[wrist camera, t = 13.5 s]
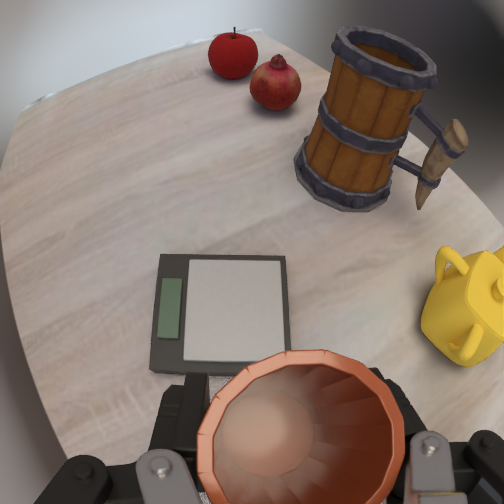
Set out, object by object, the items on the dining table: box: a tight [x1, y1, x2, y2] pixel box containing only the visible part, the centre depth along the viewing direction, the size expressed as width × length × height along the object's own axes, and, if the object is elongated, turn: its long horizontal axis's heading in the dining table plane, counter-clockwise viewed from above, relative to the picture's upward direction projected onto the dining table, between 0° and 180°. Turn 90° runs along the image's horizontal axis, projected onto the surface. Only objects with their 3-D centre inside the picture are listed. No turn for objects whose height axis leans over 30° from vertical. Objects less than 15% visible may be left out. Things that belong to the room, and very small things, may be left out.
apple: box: [208, 27, 258, 79], centre depth 50 cm, size 9×9×10 cm
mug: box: [294, 26, 468, 212], centre depth 34 cm, size 19×14×20 cm
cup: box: [196, 349, 405, 504], centre depth 10 cm, size 5×5×9 cm
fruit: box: [250, 54, 301, 111], centre depth 45 cm, size 8×8×10 cm
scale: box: [149, 254, 291, 376], centre depth 31 cm, size 13×12×3 cm
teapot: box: [421, 246, 504, 367], centre depth 29 cm, size 14×13×10 cm
